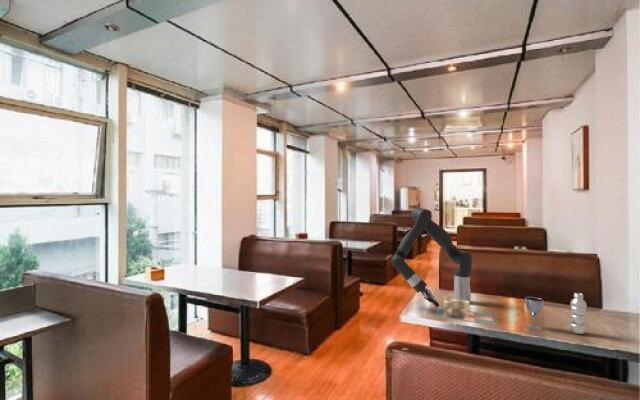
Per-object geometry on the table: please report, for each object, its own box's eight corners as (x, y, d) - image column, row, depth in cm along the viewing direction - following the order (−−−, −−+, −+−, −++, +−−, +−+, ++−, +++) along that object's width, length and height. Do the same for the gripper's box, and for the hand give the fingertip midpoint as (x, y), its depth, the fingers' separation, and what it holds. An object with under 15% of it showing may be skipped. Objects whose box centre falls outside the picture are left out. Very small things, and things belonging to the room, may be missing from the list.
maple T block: (443, 316, 185) (444, 302, 185) (444, 308, 198) (444, 295, 198) (469, 320, 180) (469, 305, 180) (468, 312, 193) (468, 298, 193)
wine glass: (540, 325, 176) (540, 297, 176) (544, 331, 169) (545, 302, 169) (523, 323, 179) (523, 296, 179) (526, 329, 171) (527, 300, 171)
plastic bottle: (565, 330, 170) (566, 291, 170) (578, 330, 171) (579, 291, 171) (576, 335, 164) (577, 295, 164) (589, 335, 164) (590, 295, 164)
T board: (434, 318, 185) (434, 316, 185) (436, 308, 201) (436, 306, 201) (495, 327, 173) (495, 325, 173) (492, 316, 190) (492, 314, 190)
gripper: (420, 281, 190) (442, 305, 185) (422, 276, 202) (443, 298, 197) (410, 289, 192) (432, 313, 187) (413, 283, 204) (434, 306, 200)
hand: (438, 306), depth 192 cm, fingers closed
